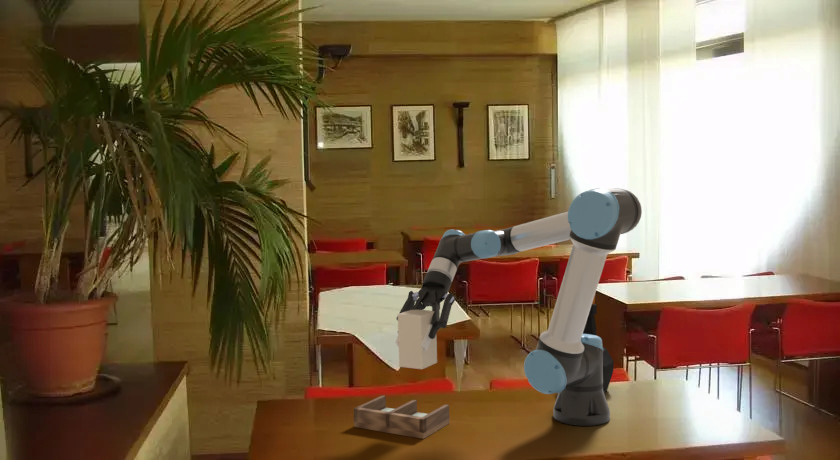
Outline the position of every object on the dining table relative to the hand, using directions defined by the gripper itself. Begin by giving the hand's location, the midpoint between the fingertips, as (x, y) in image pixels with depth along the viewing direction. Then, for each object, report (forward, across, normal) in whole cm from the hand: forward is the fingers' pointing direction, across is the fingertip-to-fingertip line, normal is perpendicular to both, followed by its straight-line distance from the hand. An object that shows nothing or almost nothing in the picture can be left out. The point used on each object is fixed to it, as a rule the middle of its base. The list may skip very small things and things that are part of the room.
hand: (411, 346), depth 195 cm
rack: (+14, +5, -18) cm, 23 cm away
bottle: (-25, -29, -57) cm, 68 cm away
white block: (+1, 0, -6) cm, 7 cm away
